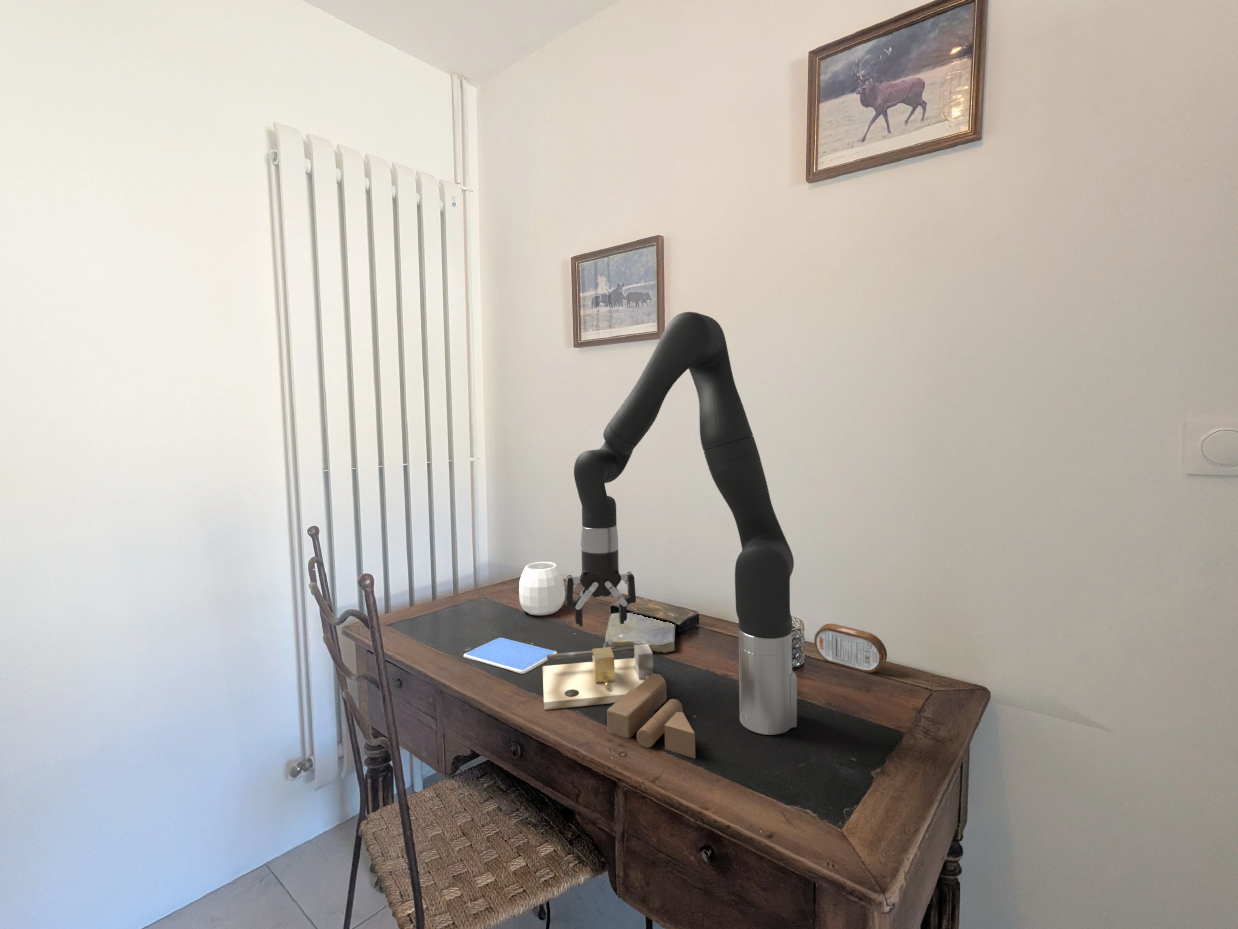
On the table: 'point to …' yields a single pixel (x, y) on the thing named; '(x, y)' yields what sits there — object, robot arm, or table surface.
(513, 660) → the tablet computer
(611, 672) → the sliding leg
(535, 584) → the white faceted vase
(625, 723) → the wooden block set
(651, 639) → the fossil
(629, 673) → the cream panel
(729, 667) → the table surface
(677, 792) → the table surface
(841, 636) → the tin
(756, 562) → the robot arm
